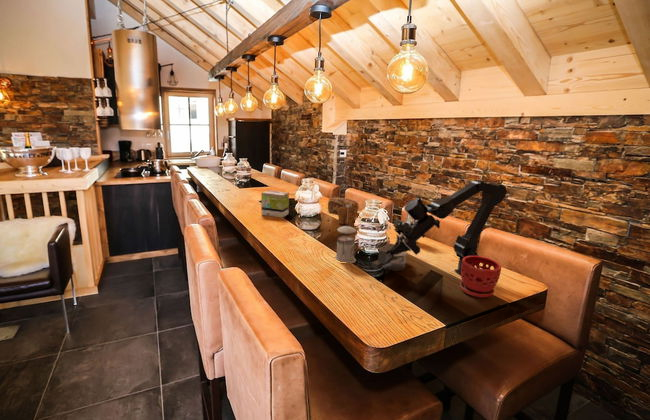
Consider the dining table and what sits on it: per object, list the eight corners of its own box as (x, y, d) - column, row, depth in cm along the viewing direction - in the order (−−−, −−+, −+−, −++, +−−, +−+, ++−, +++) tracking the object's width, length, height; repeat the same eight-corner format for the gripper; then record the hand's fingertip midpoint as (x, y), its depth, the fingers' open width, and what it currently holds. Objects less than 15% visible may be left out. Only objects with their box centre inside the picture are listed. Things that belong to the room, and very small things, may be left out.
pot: (392, 258, 161) (393, 245, 160) (412, 264, 155) (413, 251, 154) (363, 272, 145) (364, 258, 143) (384, 279, 138) (385, 265, 137)
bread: (327, 212, 241) (327, 197, 239) (334, 209, 250) (334, 195, 248) (352, 216, 233) (353, 201, 231) (358, 213, 242) (359, 198, 240)
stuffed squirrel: (359, 226, 209) (360, 205, 206) (335, 225, 211) (336, 203, 208) (360, 222, 219) (361, 201, 216) (337, 220, 221) (338, 200, 218)
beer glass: (417, 244, 182) (420, 215, 179) (404, 242, 183) (406, 214, 180) (417, 240, 189) (420, 212, 185) (403, 238, 190) (406, 211, 187)
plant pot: (451, 291, 131) (455, 260, 128) (467, 281, 140) (471, 252, 137) (487, 304, 122) (493, 272, 119) (502, 293, 131) (507, 262, 128)
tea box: (260, 215, 226) (260, 192, 223) (267, 211, 236) (267, 189, 232) (282, 217, 222) (283, 194, 219) (288, 214, 232) (289, 191, 228)
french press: (358, 257, 161) (361, 203, 155) (353, 266, 150) (356, 209, 144) (336, 254, 163) (339, 201, 158) (330, 263, 153) (332, 206, 147)
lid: (388, 244, 160) (389, 233, 159) (411, 249, 155) (412, 237, 154) (368, 260, 140) (369, 248, 139) (394, 266, 135) (395, 253, 134)
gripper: (401, 207, 145) (372, 232, 147) (414, 219, 127) (381, 248, 129) (418, 226, 147) (390, 250, 149) (434, 240, 129) (401, 268, 131)
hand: (390, 254), depth 140 cm, fingers closed
